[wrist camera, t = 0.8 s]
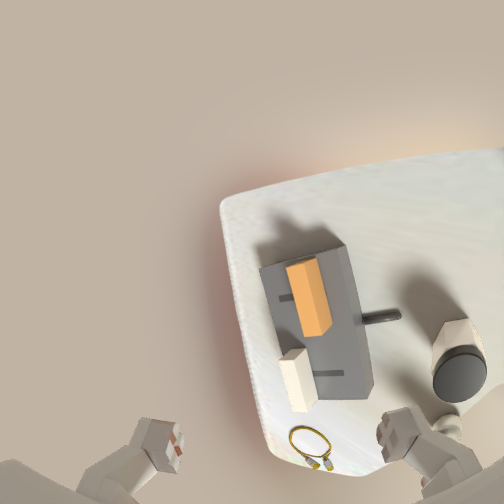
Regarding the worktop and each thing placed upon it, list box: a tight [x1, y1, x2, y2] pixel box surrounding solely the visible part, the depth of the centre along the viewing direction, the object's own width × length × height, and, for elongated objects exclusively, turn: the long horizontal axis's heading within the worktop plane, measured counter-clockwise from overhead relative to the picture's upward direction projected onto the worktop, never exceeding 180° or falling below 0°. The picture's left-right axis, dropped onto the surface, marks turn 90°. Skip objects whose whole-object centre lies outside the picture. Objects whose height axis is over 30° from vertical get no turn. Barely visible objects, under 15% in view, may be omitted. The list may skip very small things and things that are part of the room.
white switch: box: [278, 348, 318, 413], centre depth 45 cm, size 3×11×5 cm, turn 19°
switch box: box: [259, 245, 402, 400], centre depth 45 cm, size 23×27×5 cm
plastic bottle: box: [421, 414, 463, 488], centre depth 27 cm, size 6×7×20 cm
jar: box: [431, 318, 487, 403], centre depth 30 cm, size 9×8×12 cm
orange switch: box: [286, 258, 333, 337], centre depth 42 cm, size 3×11×5 cm, turn 19°
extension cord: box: [289, 427, 334, 471], centre depth 54 cm, size 12×16×2 cm
